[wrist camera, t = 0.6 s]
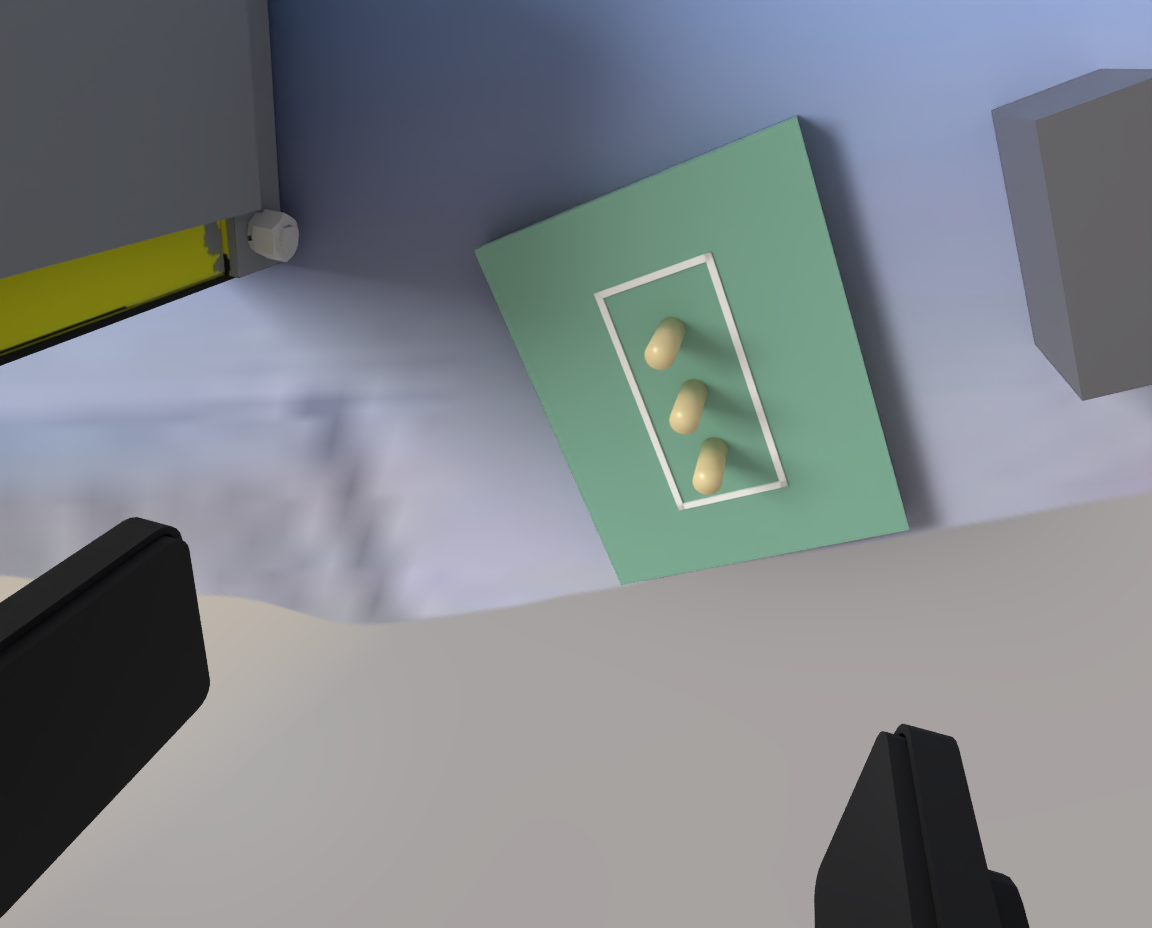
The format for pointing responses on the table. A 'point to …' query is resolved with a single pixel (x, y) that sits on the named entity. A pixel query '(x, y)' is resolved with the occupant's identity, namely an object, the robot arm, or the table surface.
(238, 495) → the table surface
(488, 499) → the table surface
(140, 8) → the electrical component
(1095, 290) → the block
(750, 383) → the header board
